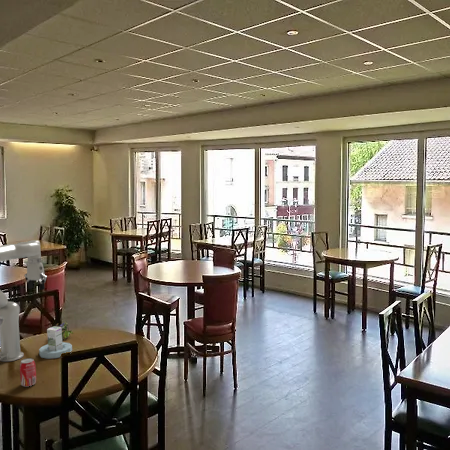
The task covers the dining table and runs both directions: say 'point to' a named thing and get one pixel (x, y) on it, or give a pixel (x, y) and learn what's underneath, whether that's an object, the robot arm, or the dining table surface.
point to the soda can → (27, 372)
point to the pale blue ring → (54, 354)
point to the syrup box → (54, 338)
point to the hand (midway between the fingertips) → (36, 289)
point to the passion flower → (64, 327)
